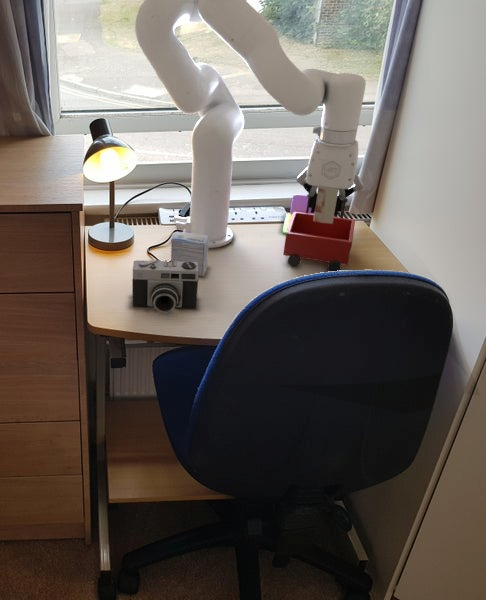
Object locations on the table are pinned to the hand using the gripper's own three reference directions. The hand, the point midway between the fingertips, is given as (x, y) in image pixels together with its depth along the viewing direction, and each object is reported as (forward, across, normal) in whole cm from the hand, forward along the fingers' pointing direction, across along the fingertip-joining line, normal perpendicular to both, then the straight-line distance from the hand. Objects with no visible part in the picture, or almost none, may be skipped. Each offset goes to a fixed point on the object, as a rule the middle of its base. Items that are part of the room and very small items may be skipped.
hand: (324, 211), depth 146 cm
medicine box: (+12, -27, -17) cm, 34 cm away
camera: (+12, -28, -34) cm, 46 cm away
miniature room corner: (+12, -4, +15) cm, 19 cm away
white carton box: (+2, 0, 0) cm, 2 cm away
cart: (+12, 0, 0) cm, 12 cm away
